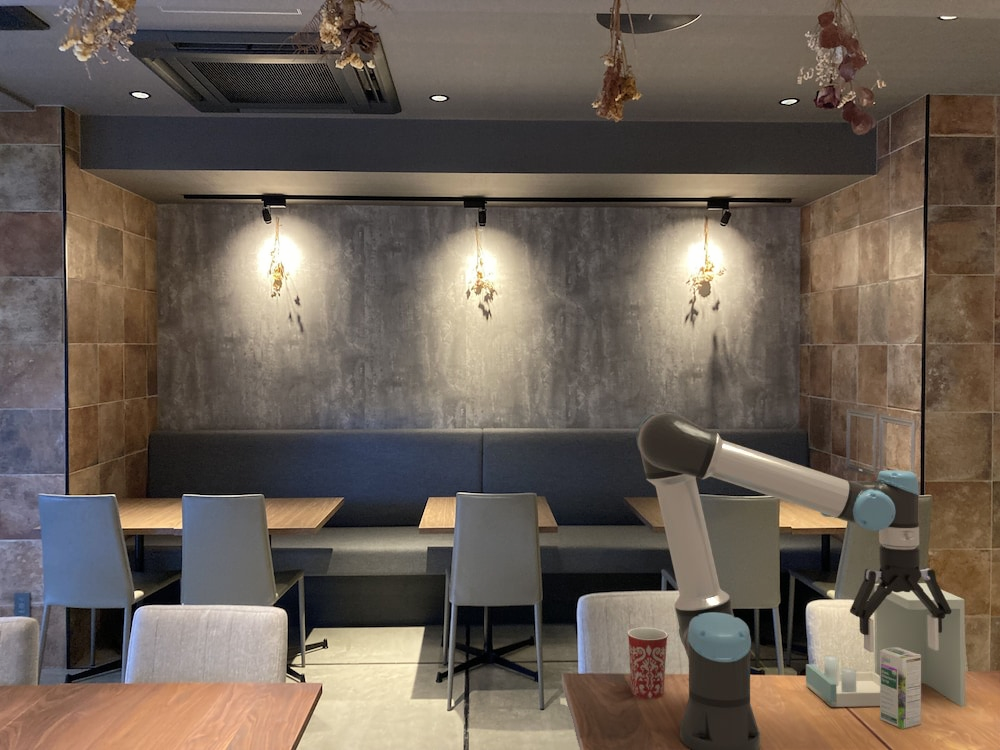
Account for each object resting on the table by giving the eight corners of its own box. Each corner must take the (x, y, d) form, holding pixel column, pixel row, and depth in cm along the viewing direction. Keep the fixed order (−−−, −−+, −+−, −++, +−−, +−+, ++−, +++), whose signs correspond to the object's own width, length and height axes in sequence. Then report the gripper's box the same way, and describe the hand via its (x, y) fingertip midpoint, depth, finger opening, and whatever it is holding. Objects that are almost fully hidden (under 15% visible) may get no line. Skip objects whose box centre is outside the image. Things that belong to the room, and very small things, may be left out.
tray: (831, 706, 181) (830, 674, 181) (806, 685, 194) (805, 654, 194) (903, 705, 182) (903, 672, 182) (873, 683, 195) (873, 653, 195)
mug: (671, 700, 185) (670, 639, 186) (629, 700, 186) (629, 638, 186) (663, 680, 198) (662, 623, 198) (624, 679, 198) (624, 622, 199)
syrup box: (878, 719, 175) (878, 649, 175) (898, 714, 177) (898, 645, 177) (902, 729, 170) (901, 657, 170) (922, 724, 172) (922, 653, 172)
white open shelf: (909, 707, 181) (908, 600, 181) (874, 682, 196) (874, 583, 196) (965, 706, 182) (964, 599, 182) (926, 681, 197) (925, 583, 197)
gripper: (848, 550, 169) (850, 656, 169) (968, 548, 171) (970, 653, 170) (832, 543, 177) (833, 645, 177) (947, 541, 178) (949, 642, 178)
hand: (901, 649), depth 173 cm, fingers open, 13 cm apart
